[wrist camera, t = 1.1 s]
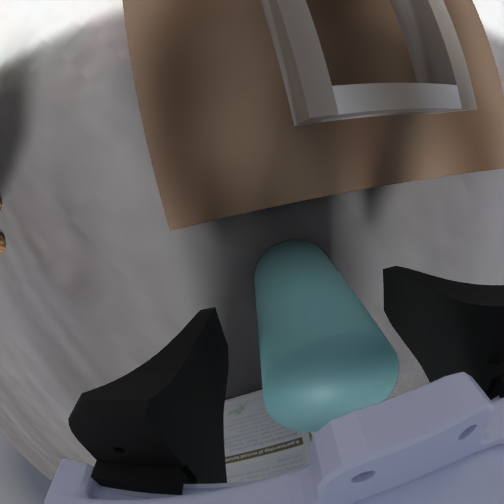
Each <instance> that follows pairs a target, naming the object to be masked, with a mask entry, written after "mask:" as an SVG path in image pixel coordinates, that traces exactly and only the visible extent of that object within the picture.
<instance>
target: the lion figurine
mask: <svg viewBox="0 0 504 504" xmlns="http://www.w3.org/2000/svg"><path fill="white" fill-rule="evenodd" d="M1 206H2V203H1V200H0V209H1ZM4 249H5V239H4V238H3V237H2V236H1V235H0V253H1V252H2V251H4Z"/></svg>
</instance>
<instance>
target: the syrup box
mask: <svg viewBox="0 0 504 504" xmlns="http://www.w3.org/2000/svg"><path fill="white" fill-rule="evenodd" d="M315 433H316V432H303V431H297V430H293V429H290V428H287V427H285V426H283V425H281V424H279V423H278V422H276V421H275V420H274V419H273V418H272V417H271V416H270V415H269V414H268V412H267V410H266V408H265V406H264V401H263V389H262V390H258V391H255V392H252V393H248V394H245V395H241V396H238V397H235V398H231V399H228V400H225V403H224V448H225V463H226V475H227V483H234V482H246V481H256V480H261V479H264V478H268V477H271V476H274V475H278V474H281V473H284V472H287V471H290V470H293V469H296V468H299V467H302V466H305V465H307V464H310V463H311V457H310V451H309V447H310V444H311V441H312V438H313V435H314V434H315Z"/></svg>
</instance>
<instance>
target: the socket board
mask: <svg viewBox="0 0 504 504" xmlns="http://www.w3.org/2000/svg"><path fill="white" fill-rule="evenodd" d="M123 8H124V17H125V25H126V32H127V39H128V46H129V52H130V58H131V64H132V70H133V76H134V81H135V87H136V92H137V97H138V102H139V107H140V112H141V117H142V122H143V126H144V131H145V135H146V140H147V144H148V148H149V153H150V157H151V161H152V165H153V169H154V173H155V177H156V181H157V185H158V189H159V192H160V196H161V200H162V204H163V207H164V211H165V214H166V218H167V221H168V225H169V228H170V231H171V230H175V229H179V228H183V227H187V226H191V225H196V224H200V223H204V222H208V221H212V220H217V219H221V218H225V217H230V216H234V215H239V214H243V213H248V212H252V211H257V210H261V209H266V208H271V207H275V206H280V205H285V204H290V203H294V202H299V201H304V200H309V199H314V198H319V197H324V196H330V195H335V194H340V193H345V192H351V191H356V190H362V189H367V188H373V187H379V186H385V185H391V184H396V183H403V182H409V181H415V180H421V179H428V178H434V177H441V176H448V175H455V174H462V173H470V172H477V171H485V170H493V169H502V168H504V95H503V91H502V86H501V82H500V78H499V74H498V71H497V67H496V63H495V60H494V57H493V54H492V50H491V47H490V44H489V41H488V39H487V36H486V33H485V30H484V28H483V25H482V22H481V20H480V18H479V15H478V13H477V10H476V8H475V6H474V4H473V1H472V0H123Z"/></svg>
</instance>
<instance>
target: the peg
mask: <svg viewBox="0 0 504 504" xmlns="http://www.w3.org/2000/svg"><path fill="white" fill-rule="evenodd" d="M254 283H255V297H256V310H257V323H258V336H259V350H260V363H261V376H262V389H263V401H264V406H265V408H266V410H267V412H268V414H269V415H270V416H271V417H272V418H273V419H274V420H275V421H276V422H278V423H279V424H281V425H283V426H285V427H287V428H290V429H293V430H297V431H303V432H317V431H319V430H320V429H321V428H322V427H324V426H325V425H326V424H327V423H328V422H330V421H331V420H332V419H334V418H337V417H339V416H341V415H344V414H346V413H348V412H350V411H353V410H356V409H359V408H362V407H366V406H369V405H372V404H375V403H378V402H381V401H384V400H385V399H386V398H387V397H388V396H389V394H390V393H391V391H392V390H393V388H394V386H395V384H396V381H397V378H398V374H399V359H398V356H397V353H396V352H395V350H394V349H393V347H392V346H391V344H390V343H389V341H388V340H387V338H386V337H385V335H384V334H383V332H382V331H381V330H380V328H379V327H378V325H377V324H376V322H375V321H374V320H373V318H372V317H371V315H370V314H369V312H368V311H367V310H366V308H365V307H364V305H363V304H362V303H361V301H360V300H359V299H358V297H357V296H356V294H355V293H354V292H353V290H352V289H351V288H350V286H349V285H348V284H347V282H346V281H345V279H344V278H343V277H342V275H341V274H340V273H339V271H338V270H337V269H336V267H335V266H334V265H333V263H332V262H331V261H330V260H329V258H328V257H327V256H326V254H325V253H324V252H323V251H322V250H321V249H320V248H319V247H317V246H316V245H314V244H312V243H310V242H307V241H303V240H289V241H284V242H281V243H279V244H277V245H275V246H273V247H271V248H270V249H269V250H268V251H267V252H266V253H265V254H264V255H263V256H262V257H261V259H260V260H259V262H258V264H257V266H256V270H255V275H254Z"/></svg>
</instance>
